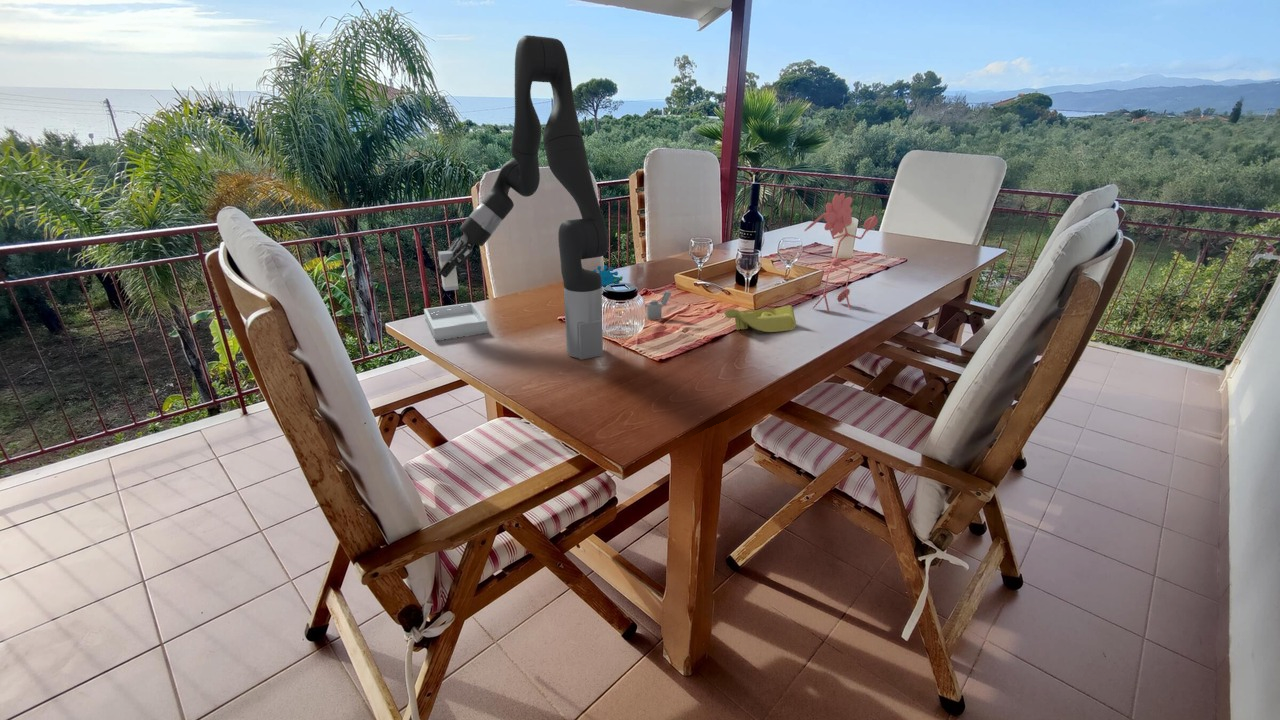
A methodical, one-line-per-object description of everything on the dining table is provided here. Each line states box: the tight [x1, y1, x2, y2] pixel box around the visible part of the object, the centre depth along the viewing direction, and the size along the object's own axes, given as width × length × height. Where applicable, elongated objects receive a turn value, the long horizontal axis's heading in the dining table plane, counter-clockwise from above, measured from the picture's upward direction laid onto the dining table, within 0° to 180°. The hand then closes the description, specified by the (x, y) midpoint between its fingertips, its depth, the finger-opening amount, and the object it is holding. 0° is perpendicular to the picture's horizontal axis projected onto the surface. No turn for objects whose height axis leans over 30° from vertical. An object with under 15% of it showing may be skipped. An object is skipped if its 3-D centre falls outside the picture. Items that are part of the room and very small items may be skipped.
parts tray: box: [423, 302, 489, 342], centre depth 154 cm, size 18×14×4 cm
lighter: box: [646, 289, 672, 320], centre depth 163 cm, size 7×2×8 cm, turn 106°
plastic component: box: [723, 304, 797, 333], centre depth 156 cm, size 20×7×10 cm
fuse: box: [437, 250, 460, 292], centre depth 148 cm, size 4×4×10 cm
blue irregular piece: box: [592, 264, 624, 287], centre depth 191 cm, size 11×6×10 cm
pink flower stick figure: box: [795, 192, 879, 313], centre depth 170 cm, size 15×26×35 cm, turn 118°
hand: (441, 273), depth 148 cm, fingers closed on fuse, 3 cm apart
